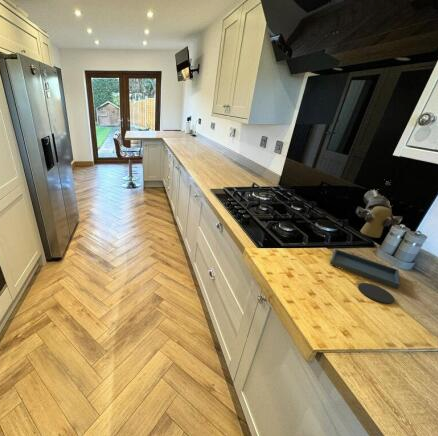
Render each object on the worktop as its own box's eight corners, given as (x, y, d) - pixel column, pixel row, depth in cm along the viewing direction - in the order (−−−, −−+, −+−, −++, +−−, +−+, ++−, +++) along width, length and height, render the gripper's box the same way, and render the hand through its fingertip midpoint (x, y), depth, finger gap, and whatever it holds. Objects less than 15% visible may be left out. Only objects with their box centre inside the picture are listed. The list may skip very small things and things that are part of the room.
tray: (395, 274, 87) (398, 269, 86) (397, 289, 80) (400, 284, 79) (333, 252, 99) (335, 248, 98) (329, 264, 91) (331, 260, 90)
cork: (362, 228, 94) (375, 203, 89) (382, 234, 90) (397, 208, 85) (358, 232, 91) (370, 206, 86) (378, 239, 87) (392, 212, 82)
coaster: (393, 293, 78) (393, 292, 78) (394, 308, 72) (395, 307, 72) (358, 280, 83) (359, 279, 83) (356, 293, 77) (357, 292, 77)
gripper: (360, 196, 100) (357, 207, 89) (406, 205, 91) (410, 219, 80) (352, 212, 103) (348, 224, 92) (397, 222, 95) (398, 238, 83)
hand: (377, 222), depth 86 cm, fingers closed on cork, 4 cm apart
